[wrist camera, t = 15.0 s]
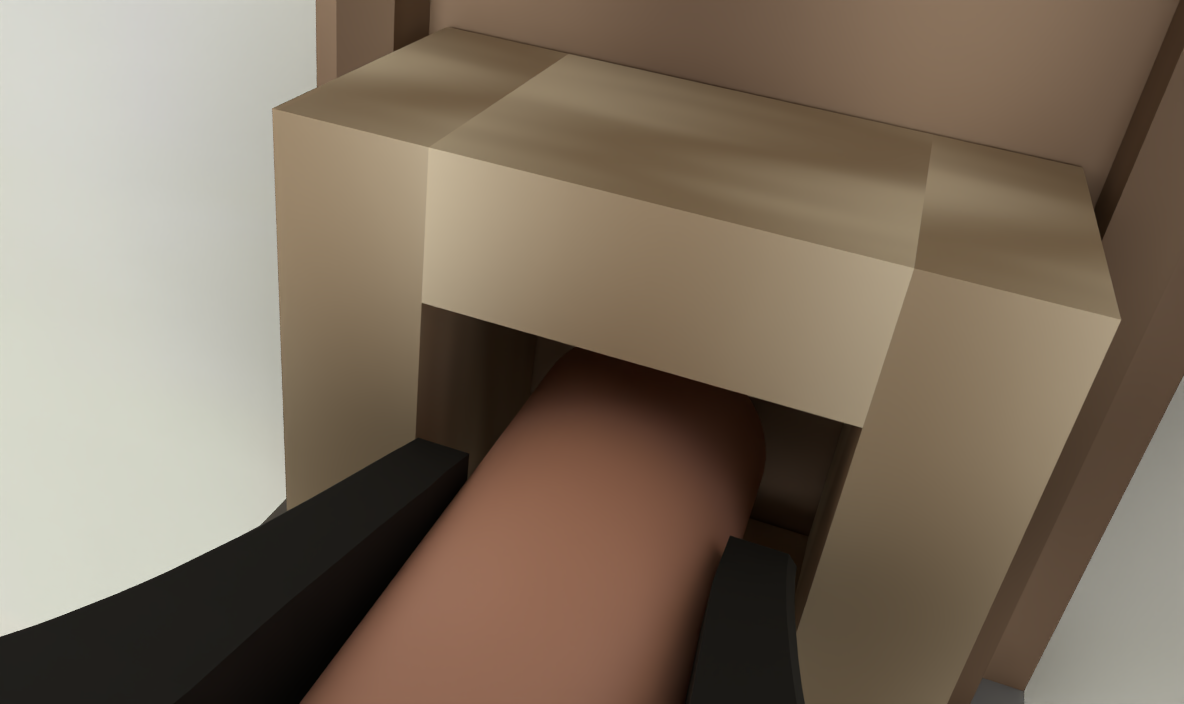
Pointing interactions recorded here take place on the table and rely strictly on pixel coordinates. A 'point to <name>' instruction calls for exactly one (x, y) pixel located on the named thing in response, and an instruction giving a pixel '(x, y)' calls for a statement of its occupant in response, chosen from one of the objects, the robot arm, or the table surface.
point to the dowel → (568, 551)
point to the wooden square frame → (701, 307)
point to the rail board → (945, 108)
